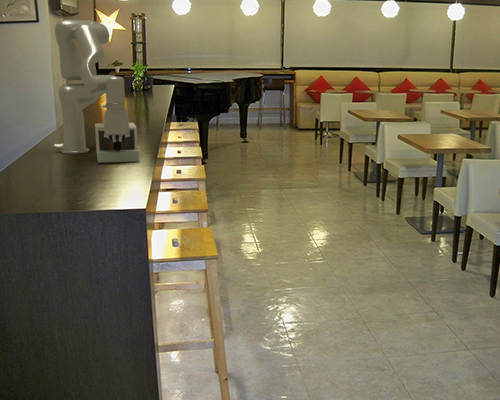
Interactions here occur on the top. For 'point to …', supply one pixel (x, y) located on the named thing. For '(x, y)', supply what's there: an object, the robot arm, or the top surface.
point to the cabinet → (103, 141)
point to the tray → (117, 155)
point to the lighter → (111, 143)
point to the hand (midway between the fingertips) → (117, 150)
